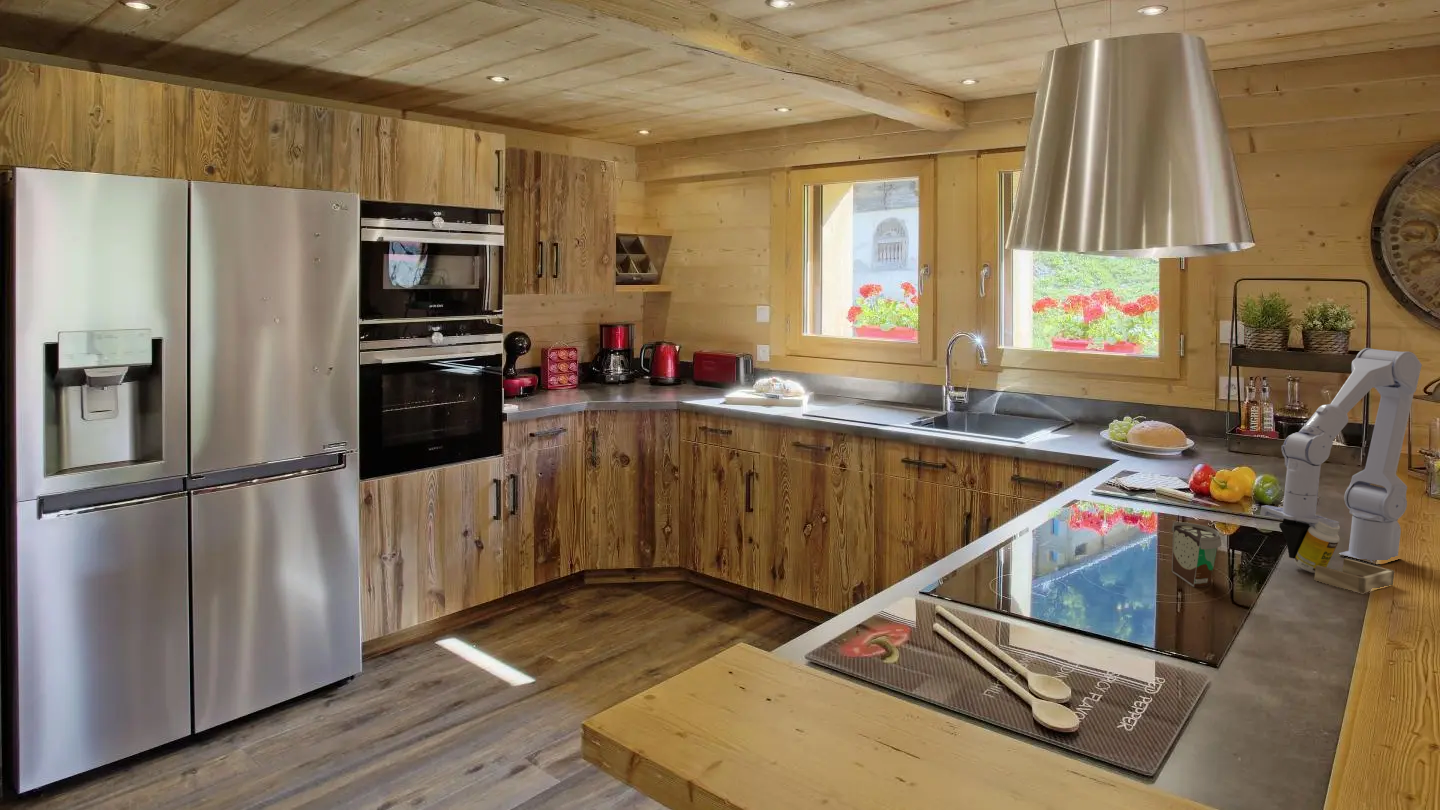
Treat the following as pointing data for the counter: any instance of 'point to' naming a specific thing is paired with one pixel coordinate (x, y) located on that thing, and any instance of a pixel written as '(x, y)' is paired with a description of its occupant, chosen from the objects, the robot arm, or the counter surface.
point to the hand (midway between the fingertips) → (1294, 557)
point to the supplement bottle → (1317, 547)
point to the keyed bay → (1355, 576)
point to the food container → (1194, 552)
